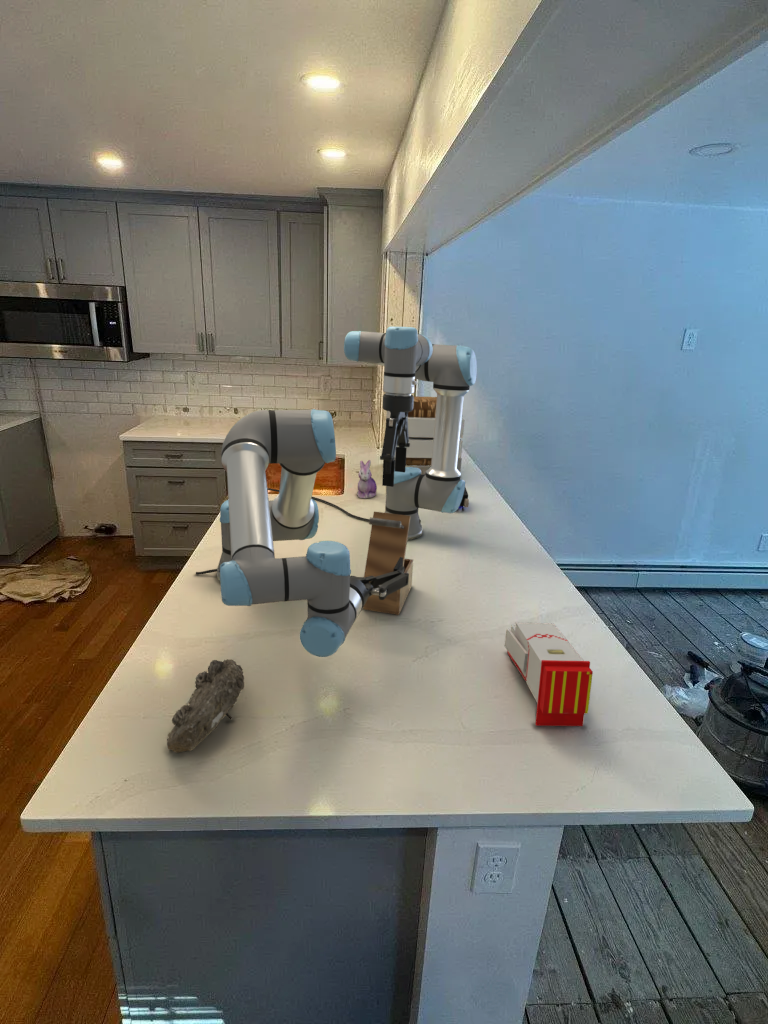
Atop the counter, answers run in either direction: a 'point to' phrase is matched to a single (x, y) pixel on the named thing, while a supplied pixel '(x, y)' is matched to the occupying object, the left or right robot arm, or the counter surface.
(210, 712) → the fossil
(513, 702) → the counter surface
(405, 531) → the lid
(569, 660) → the toy
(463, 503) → the figurine character
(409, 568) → the chest
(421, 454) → the wooden drawer cabinet
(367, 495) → the figurine
